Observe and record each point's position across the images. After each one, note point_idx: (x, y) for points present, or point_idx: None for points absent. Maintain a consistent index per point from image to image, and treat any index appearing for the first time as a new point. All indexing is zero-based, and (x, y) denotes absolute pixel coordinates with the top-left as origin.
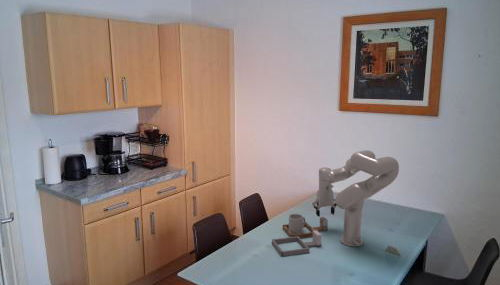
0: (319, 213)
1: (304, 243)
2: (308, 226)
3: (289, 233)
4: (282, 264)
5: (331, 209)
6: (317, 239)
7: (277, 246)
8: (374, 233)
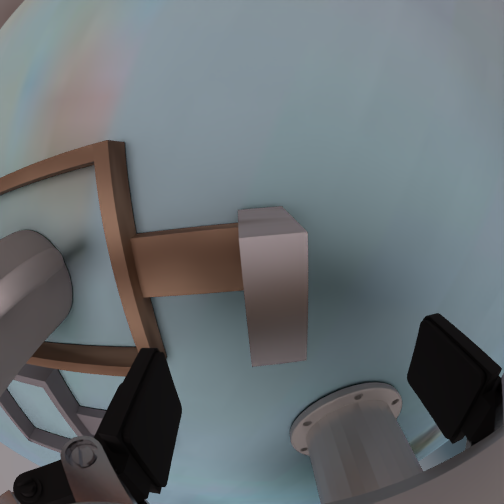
0: (168, 449)
1: None
2: (109, 237)
3: None
4: (49, 452)
5: (455, 381)
6: None
7: (5, 411)
8: (489, 333)
